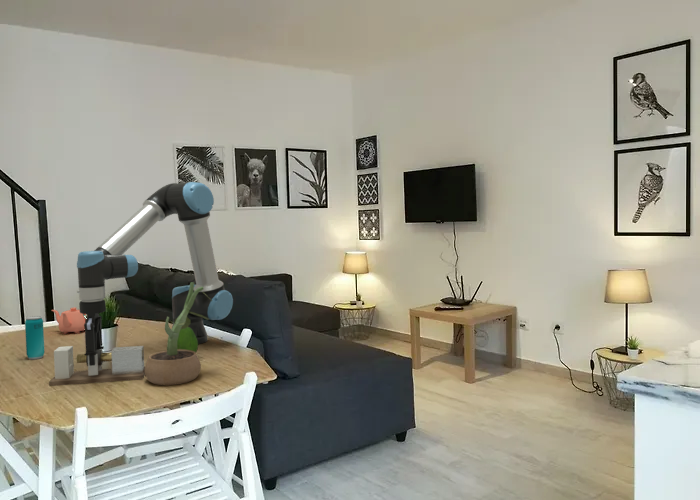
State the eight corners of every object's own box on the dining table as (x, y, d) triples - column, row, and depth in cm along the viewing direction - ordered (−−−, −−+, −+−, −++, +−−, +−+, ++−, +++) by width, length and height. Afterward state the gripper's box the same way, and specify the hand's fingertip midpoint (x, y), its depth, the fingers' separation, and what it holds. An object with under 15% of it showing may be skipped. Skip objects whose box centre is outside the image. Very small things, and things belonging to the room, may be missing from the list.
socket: (74, 376, 182) (72, 346, 181) (69, 382, 176) (67, 350, 175) (60, 377, 181) (59, 346, 180) (55, 383, 175) (53, 351, 175)
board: (147, 369, 189) (147, 366, 189) (142, 379, 178) (142, 375, 178) (59, 375, 183) (59, 372, 183) (49, 385, 173) (49, 381, 172)
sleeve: (144, 368, 186) (143, 345, 185) (142, 372, 181) (141, 349, 181) (115, 370, 184) (114, 347, 184) (112, 374, 179) (111, 350, 179)
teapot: (63, 336, 243) (61, 311, 242) (52, 332, 253) (50, 307, 252) (97, 331, 253) (96, 307, 252) (85, 327, 263) (84, 304, 263)
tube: (142, 360, 186) (142, 345, 185) (140, 364, 181) (139, 349, 181) (80, 364, 182) (79, 349, 181) (76, 368, 177) (75, 352, 176)
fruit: (186, 355, 209) (185, 322, 208) (202, 357, 205) (201, 324, 204) (170, 360, 202) (169, 326, 201) (186, 362, 198) (185, 328, 197)
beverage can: (48, 356, 208) (46, 316, 207) (33, 360, 203) (31, 319, 202) (37, 355, 211) (35, 315, 210) (23, 359, 205) (21, 318, 204)
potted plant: (160, 391, 166) (157, 289, 164) (136, 378, 179) (132, 284, 178) (228, 375, 181) (226, 282, 179) (201, 365, 195) (198, 278, 193)
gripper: (86, 296, 187) (88, 365, 188) (72, 305, 169) (75, 381, 171) (110, 295, 189) (113, 364, 190) (99, 303, 171) (102, 379, 172)
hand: (95, 372), depth 180 cm, fingers closed on tube, 5 cm apart
